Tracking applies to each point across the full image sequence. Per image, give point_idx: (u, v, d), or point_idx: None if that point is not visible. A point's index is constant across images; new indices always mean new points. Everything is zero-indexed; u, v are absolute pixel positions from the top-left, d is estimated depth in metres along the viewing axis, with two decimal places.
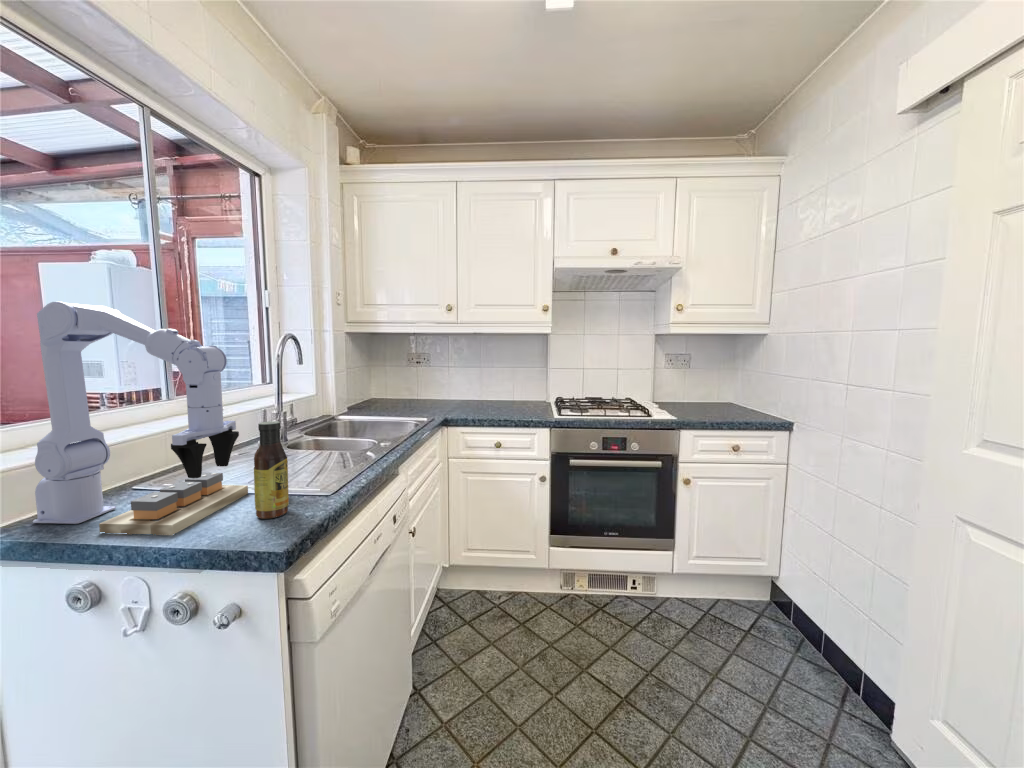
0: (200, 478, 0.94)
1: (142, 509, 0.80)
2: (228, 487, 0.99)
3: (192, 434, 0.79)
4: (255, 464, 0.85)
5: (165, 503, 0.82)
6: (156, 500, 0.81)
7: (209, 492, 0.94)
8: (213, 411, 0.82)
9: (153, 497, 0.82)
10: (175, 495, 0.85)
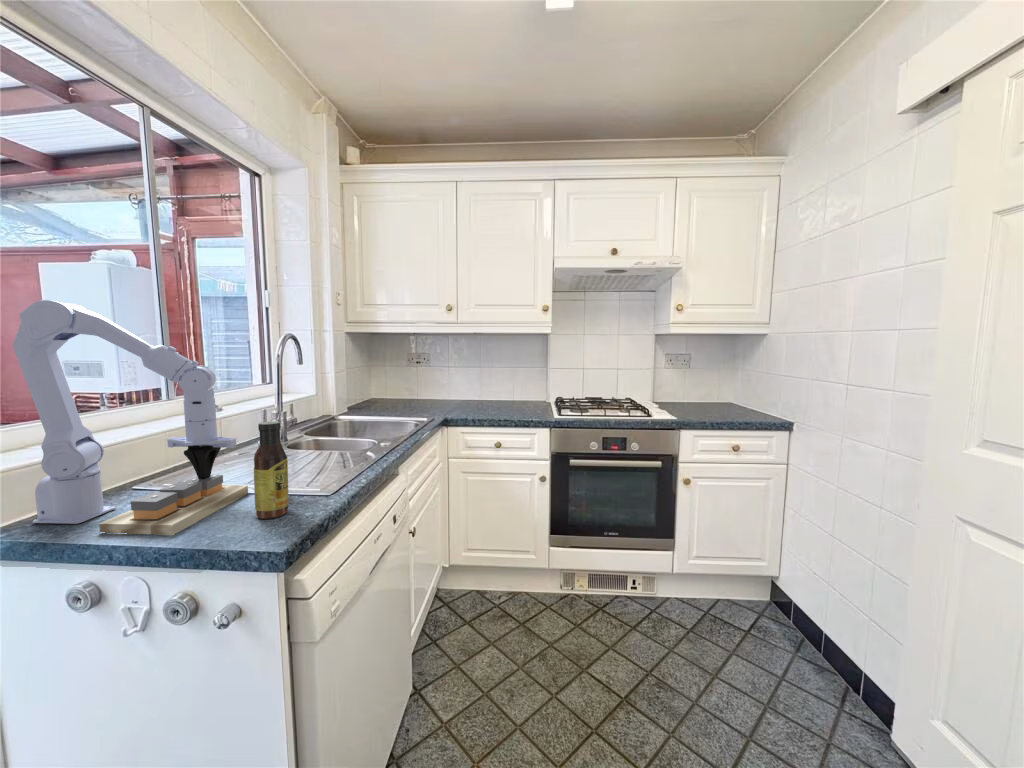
0: (200, 480, 0.94)
1: (142, 509, 0.80)
2: (228, 487, 0.99)
3: (174, 440, 0.93)
4: (255, 464, 0.85)
5: (165, 503, 0.82)
6: (156, 500, 0.81)
7: (209, 494, 0.94)
8: (186, 425, 0.92)
9: (153, 497, 0.82)
10: (175, 495, 0.85)
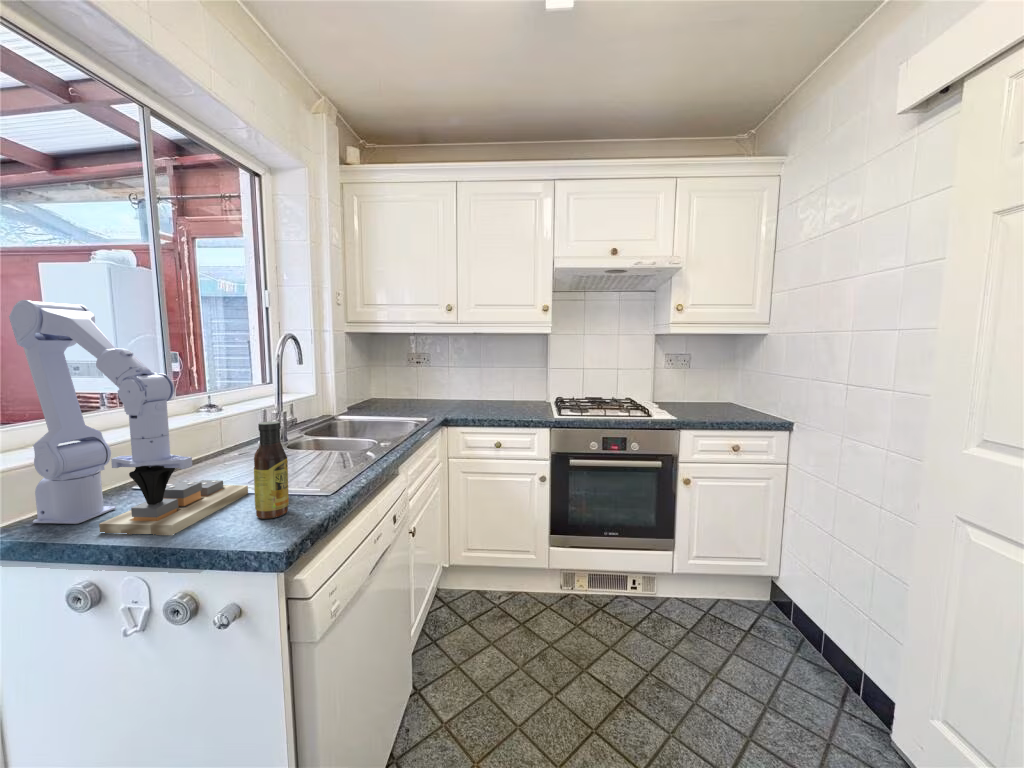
0: None
1: (142, 516, 0.80)
2: (228, 487, 0.99)
3: (119, 460, 0.81)
4: (255, 464, 0.85)
5: (165, 509, 0.82)
6: (156, 507, 0.81)
7: None
8: (132, 443, 0.79)
9: None
10: (175, 501, 0.85)
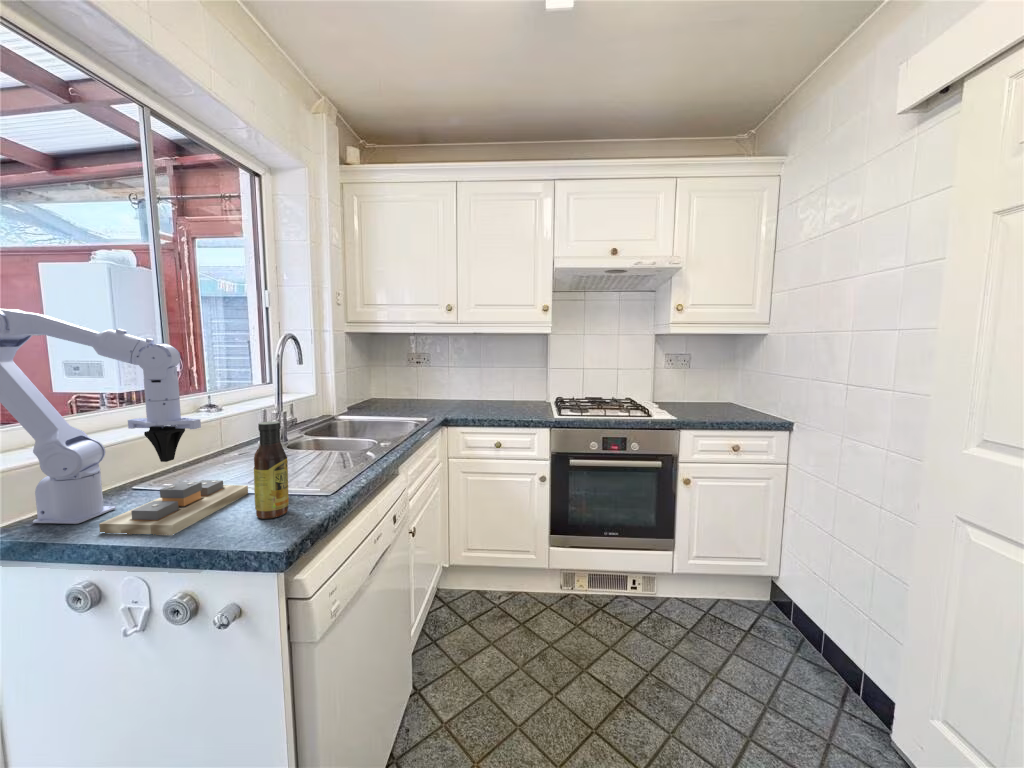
0: None
1: (143, 518, 0.80)
2: (228, 487, 0.99)
3: (135, 421, 0.89)
4: (255, 464, 0.85)
5: (166, 512, 0.82)
6: (157, 509, 0.81)
7: None
8: (147, 405, 0.87)
9: (154, 506, 0.82)
10: (176, 504, 0.85)
